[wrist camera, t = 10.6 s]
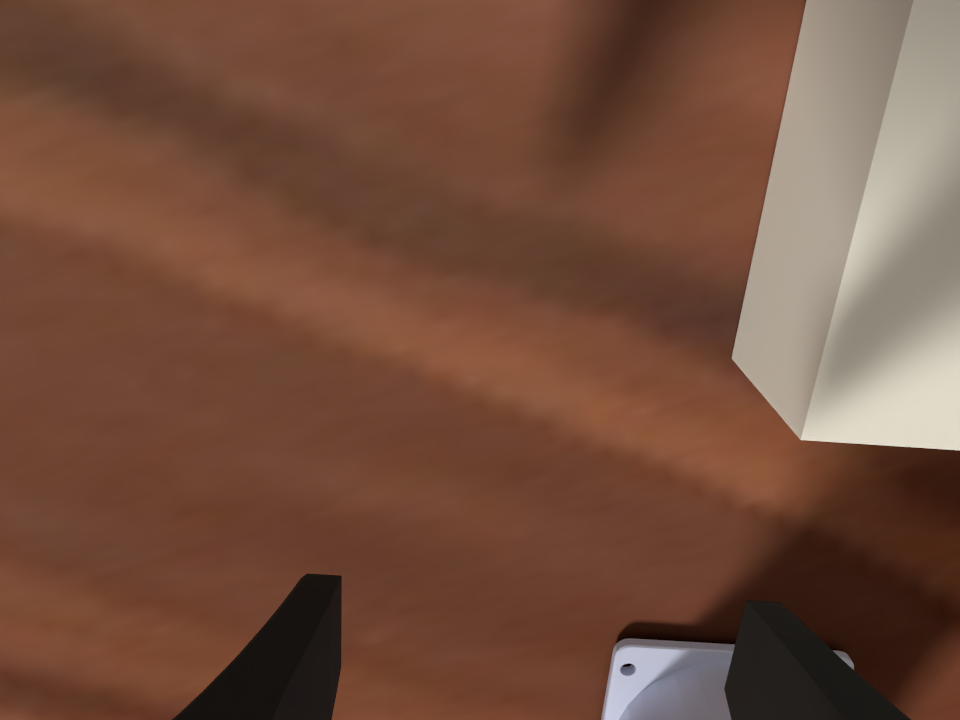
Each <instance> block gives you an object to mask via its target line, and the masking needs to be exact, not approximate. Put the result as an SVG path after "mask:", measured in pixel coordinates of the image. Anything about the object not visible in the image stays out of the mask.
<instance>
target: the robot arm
mask: <svg viewBox="0 0 960 720" xmlns="http://www.w3.org/2000/svg"><path fill="white" fill-rule="evenodd" d="M341 579H342V576H337V575H321V574H306V575H305V576H303V577H302V578H301V579H300V580H299V582H298V583H297V584H296V586H295V587H294V588H293V590H292V591H291V592H290V594H289V595H288V596H287V598H286V599H285V600H284V602H283V603H282V604H281V605H280V607H279V608H278V609H277V610H276V612H275V613H274V614H273V615H272V617H271V618H270V619H269V620H268V621H267V623H266V624H265V625H264V626H263V627H262V629H261V630H260V631H259V632H258V633H257V634H256V635H255V637H254V638H253V639H252V640H251V641H250V642H249V643H248V644H247V646H246V647H245V648H244V649H243V650H242V651H241V652H240V654H239V655H238V656H237V657H236V658H235V659H234V660H233V661H232V662H231V663H230V664H229V665H228V666H227V667H226V668H225V669H224V670H223V671H222V672H221V673H220V674H219V675H218V676H217V677H216V678H215V679H214V681H213V682H212V683H211V684H210V685H209V686H208V687H207V688H206V689H205V690H204V691H203V692H202V693H201V694H200V695H199V696H198V697H196V698H195V699H194V700H193V701H192V702H191V703H190V704H189V705H188V706H187V707H186V708H185V709H184V710H182V711H181V712H180V713H179V714H178V715H177V716H176V717H175V718H174V719H172V720H331V719H332V714H333V708H334V703H335V698H336V692H337V687H338V681H339V675H340V670H341ZM628 663H630V664H632V665H630V666H628V667H623V665H624V664H628ZM601 720H911V719H909V718H908V717H907V716H906V715H904V714H903V713H902V712H901V711H900V710H898V709H897V708H896V707H895V706H894V705H893V704H891V703H890V702H889V701H888V700H887V699H886V698H884V697H883V696H882V695H881V694H880V693H879V692H878V691H876V690H875V689H874V688H873V687H872V686H871V685H870V684H869V683H867V682H866V681H865V680H864V679H863V678H862V677H861V676H860V675H859V674H858V673H856V672H855V671H854V664H853V662H852V660H851V659H850V657H849V656H848V654H846V653H845V652H842V651H835V650H831V649H830V648H829V647H828V646H827V645H826V644H825V643H824V642H823V641H822V640H821V639H820V638H819V637H818V636H817V635H815V634H814V633H813V632H812V631H811V630H810V629H809V628H808V627H807V626H806V625H805V624H804V623H803V622H801V621H800V620H799V619H798V618H797V617H796V616H795V615H794V614H793V613H792V612H790V611H789V610H788V609H787V608H786V607H785V606H784V605H782V604H781V603H780V602H764V601H748V600H746V603H745V607H744V611H743V615H742V619H741V623H740V627H739V631H738V635H737V639H736V643H735V645H734V644H717V643H700V642H684V641H667V640H650V639H633V638H629V639H623V640H621V641H619V642H618V643H617V644H616V645H615V647H614V649H613V654H612V660H611V666H610V672H609V677H608V683H607V689H606V694H605V700H604V706H603V712H602V717H601Z"/></svg>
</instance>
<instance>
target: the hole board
mask: <svg viewBox="0 0 960 720" xmlns="http://www.w3.org/2000/svg"><path fill="white" fill-rule="evenodd" d="M732 360H733V361H734V362H735V363H736V364H737V365H738V367H739V368H740V369H741V370H742V371H743V373H744V374H745V375H746V376H747V377H748V378H749V380H750V381H751V382H752V383H753V384H754V385H755V387H756V388H757V389H758V390H759V391H760V393H761V394H762V395H763V396H764V397H765V398H766V400H767V401H768V402H769V403H770V404H771V406H772V407H773V408H774V409H775V410H776V411H777V413H778V414H779V415H780V416H781V417H782V419H783V420H784V421H785V422H786V423H787V424H788V426H789V427H790V428H791V429H792V430H793V432H794V433H795V434H796V435H797V436H798V437H799V439H800V440H810V441H825V442H840V443H855V444H870V445H886V446H901V447H916V448H931V449H946V450H960V0H807V1H806V6H805V11H804V15H803V20H802V25H801V30H800V34H799V39H798V44H797V49H796V54H795V58H794V63H793V68H792V73H791V77H790V82H789V87H788V92H787V96H786V101H785V106H784V111H783V116H782V120H781V125H780V130H779V135H778V139H777V144H776V149H775V154H774V158H773V163H772V168H771V173H770V178H769V182H768V187H767V192H766V197H765V201H764V206H763V211H762V216H761V221H760V225H759V230H758V235H757V240H756V244H755V249H754V254H753V259H752V263H751V268H750V273H749V278H748V283H747V287H746V292H745V297H744V302H743V306H742V311H741V316H740V321H739V325H738V330H737V335H736V340H735V345H734V349H733V354H732Z"/></svg>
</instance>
